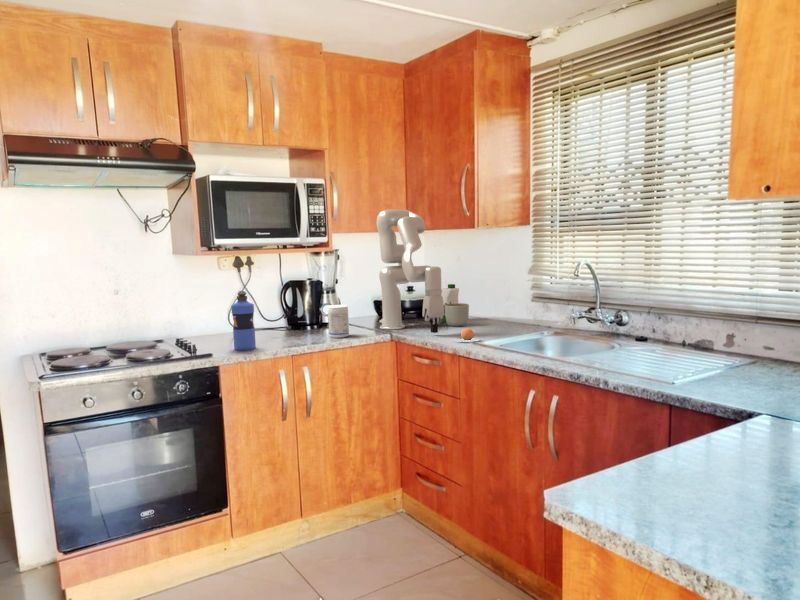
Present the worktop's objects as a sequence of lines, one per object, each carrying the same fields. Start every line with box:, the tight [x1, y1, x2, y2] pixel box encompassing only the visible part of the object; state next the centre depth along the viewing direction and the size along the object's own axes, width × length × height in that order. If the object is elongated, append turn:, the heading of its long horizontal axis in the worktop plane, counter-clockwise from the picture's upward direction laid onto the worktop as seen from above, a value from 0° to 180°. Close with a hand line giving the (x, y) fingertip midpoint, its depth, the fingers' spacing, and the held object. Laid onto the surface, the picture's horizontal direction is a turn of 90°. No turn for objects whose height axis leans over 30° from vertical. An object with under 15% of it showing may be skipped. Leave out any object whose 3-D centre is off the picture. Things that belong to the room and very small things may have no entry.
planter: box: [445, 302, 470, 327], centre depth 293 cm, size 12×12×11 cm
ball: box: [460, 327, 475, 340], centre depth 249 cm, size 6×6×6 cm
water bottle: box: [230, 290, 257, 352], centre depth 244 cm, size 9×9×25 cm
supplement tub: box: [327, 304, 350, 339], centre depth 269 cm, size 10×10×15 cm
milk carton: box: [440, 283, 460, 322], centre depth 308 cm, size 9×9×20 cm
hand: (434, 332), depth 265 cm, fingers closed
